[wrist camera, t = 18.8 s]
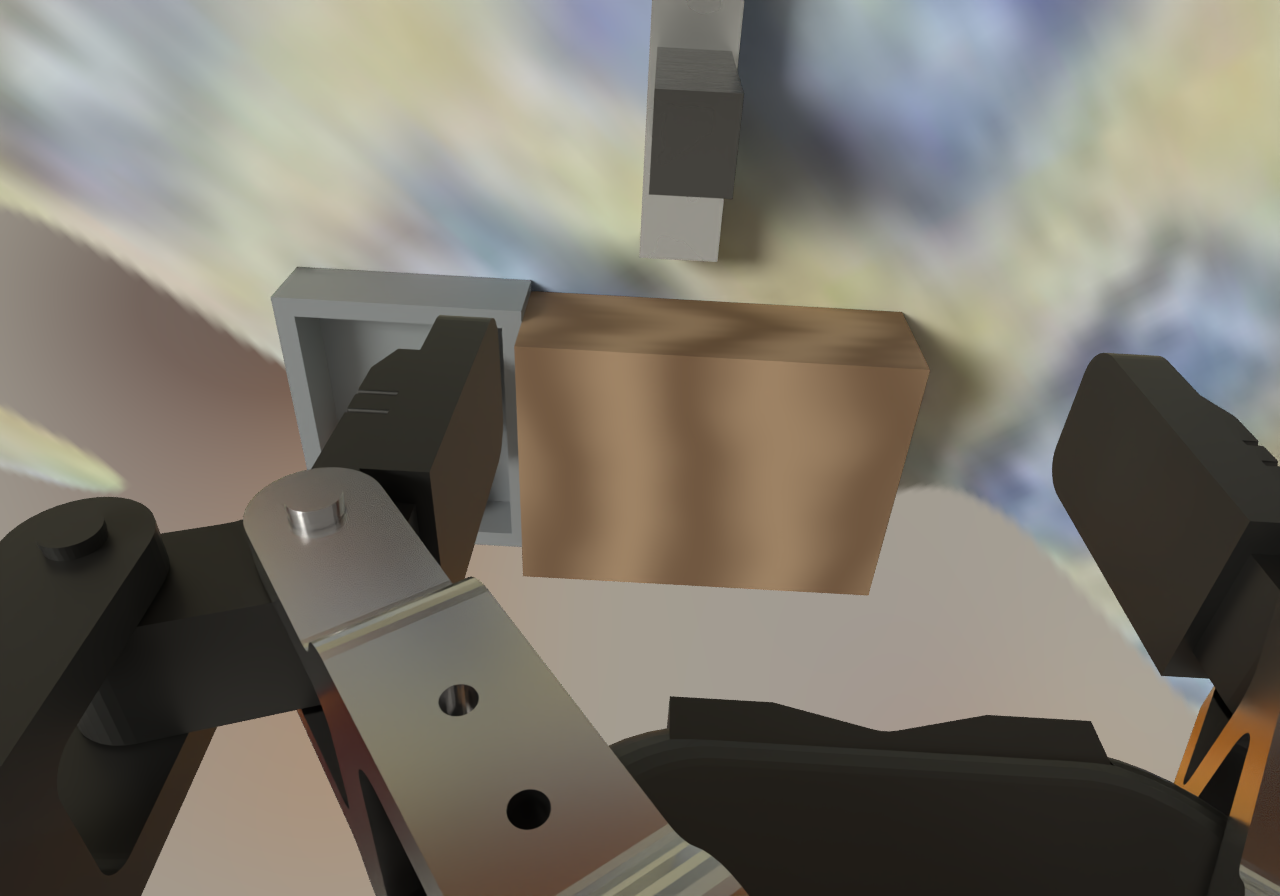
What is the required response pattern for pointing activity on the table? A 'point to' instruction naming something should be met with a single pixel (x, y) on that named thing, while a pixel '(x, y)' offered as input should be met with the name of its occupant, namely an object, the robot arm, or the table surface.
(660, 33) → the scraper
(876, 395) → the walnut block
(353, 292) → the tray
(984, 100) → the table surface
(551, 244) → the table surface
